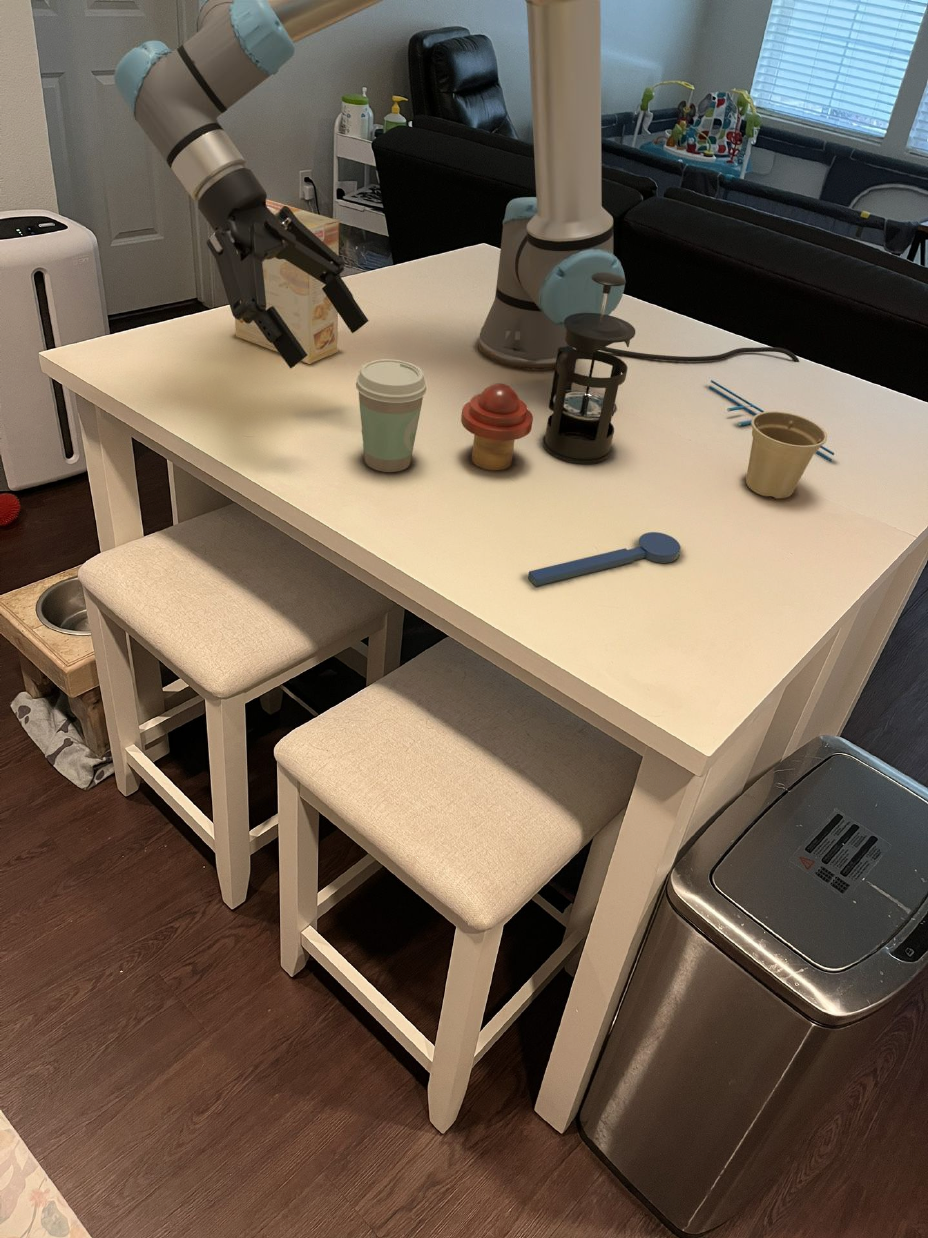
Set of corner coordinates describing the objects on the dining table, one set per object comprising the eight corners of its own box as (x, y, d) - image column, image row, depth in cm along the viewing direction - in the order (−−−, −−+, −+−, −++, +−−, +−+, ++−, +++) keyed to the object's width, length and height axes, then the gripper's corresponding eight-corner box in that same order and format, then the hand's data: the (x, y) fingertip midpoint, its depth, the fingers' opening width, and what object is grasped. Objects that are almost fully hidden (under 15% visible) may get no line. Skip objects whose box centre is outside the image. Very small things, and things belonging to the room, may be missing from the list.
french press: (628, 459, 124) (668, 287, 110) (572, 472, 120) (605, 295, 105) (576, 420, 131) (607, 255, 117) (522, 431, 127) (547, 261, 113)
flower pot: (793, 514, 117) (816, 453, 111) (722, 489, 120) (741, 428, 115) (813, 485, 123) (835, 427, 118) (745, 462, 127) (764, 404, 121)
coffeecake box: (339, 352, 142) (341, 219, 130) (309, 365, 137) (308, 229, 125) (265, 324, 148) (260, 195, 136) (234, 336, 143) (226, 203, 131)
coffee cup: (411, 483, 114) (418, 392, 106) (345, 470, 114) (346, 379, 107) (428, 451, 120) (435, 364, 113) (364, 439, 121) (367, 352, 114)
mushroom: (504, 439, 125) (514, 366, 118) (538, 471, 119) (551, 396, 113) (445, 449, 121) (452, 374, 115) (477, 482, 115) (487, 405, 109)
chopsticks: (809, 457, 126) (834, 452, 128) (687, 382, 142) (711, 379, 144) (806, 467, 127) (830, 461, 129) (685, 391, 143) (709, 387, 145)
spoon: (661, 536, 110) (663, 528, 109) (686, 558, 106) (689, 550, 106) (520, 569, 101) (521, 561, 101) (543, 594, 98) (544, 586, 97)
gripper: (267, 184, 118) (365, 328, 123) (130, 227, 100) (251, 393, 105) (302, 147, 113) (402, 299, 118) (164, 184, 95) (289, 361, 100)
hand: (331, 344), depth 112 cm, fingers open, 13 cm apart
